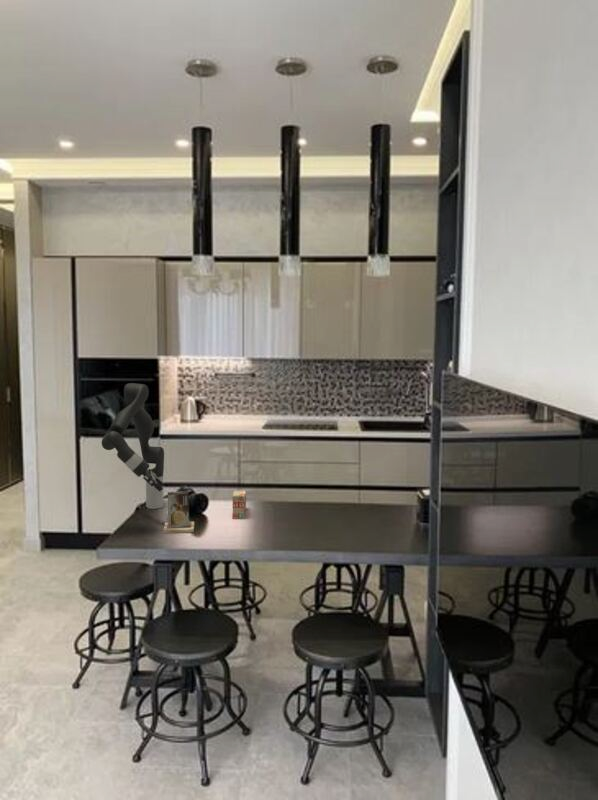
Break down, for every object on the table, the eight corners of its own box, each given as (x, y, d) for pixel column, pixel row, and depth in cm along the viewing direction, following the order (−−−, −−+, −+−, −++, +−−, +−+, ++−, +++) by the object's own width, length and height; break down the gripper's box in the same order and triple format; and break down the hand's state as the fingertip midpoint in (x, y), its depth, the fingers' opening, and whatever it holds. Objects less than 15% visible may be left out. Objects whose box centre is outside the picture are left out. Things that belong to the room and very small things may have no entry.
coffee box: (186, 522, 300) (186, 490, 299) (189, 526, 295) (189, 493, 293) (167, 524, 297) (167, 492, 295) (170, 528, 291) (170, 494, 290)
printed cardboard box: (234, 508, 335) (234, 486, 334) (246, 508, 335) (246, 486, 334) (232, 519, 314) (232, 495, 313) (244, 519, 314) (244, 495, 313)
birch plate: (165, 525, 301) (165, 522, 301) (194, 524, 303) (194, 521, 303) (163, 533, 288) (163, 530, 287) (193, 532, 290) (193, 529, 290)
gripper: (141, 461, 283) (166, 485, 286) (144, 456, 297) (168, 479, 300) (129, 473, 283) (155, 497, 286) (133, 467, 297) (157, 490, 300)
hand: (162, 488), depth 293 cm, fingers open, 8 cm apart
